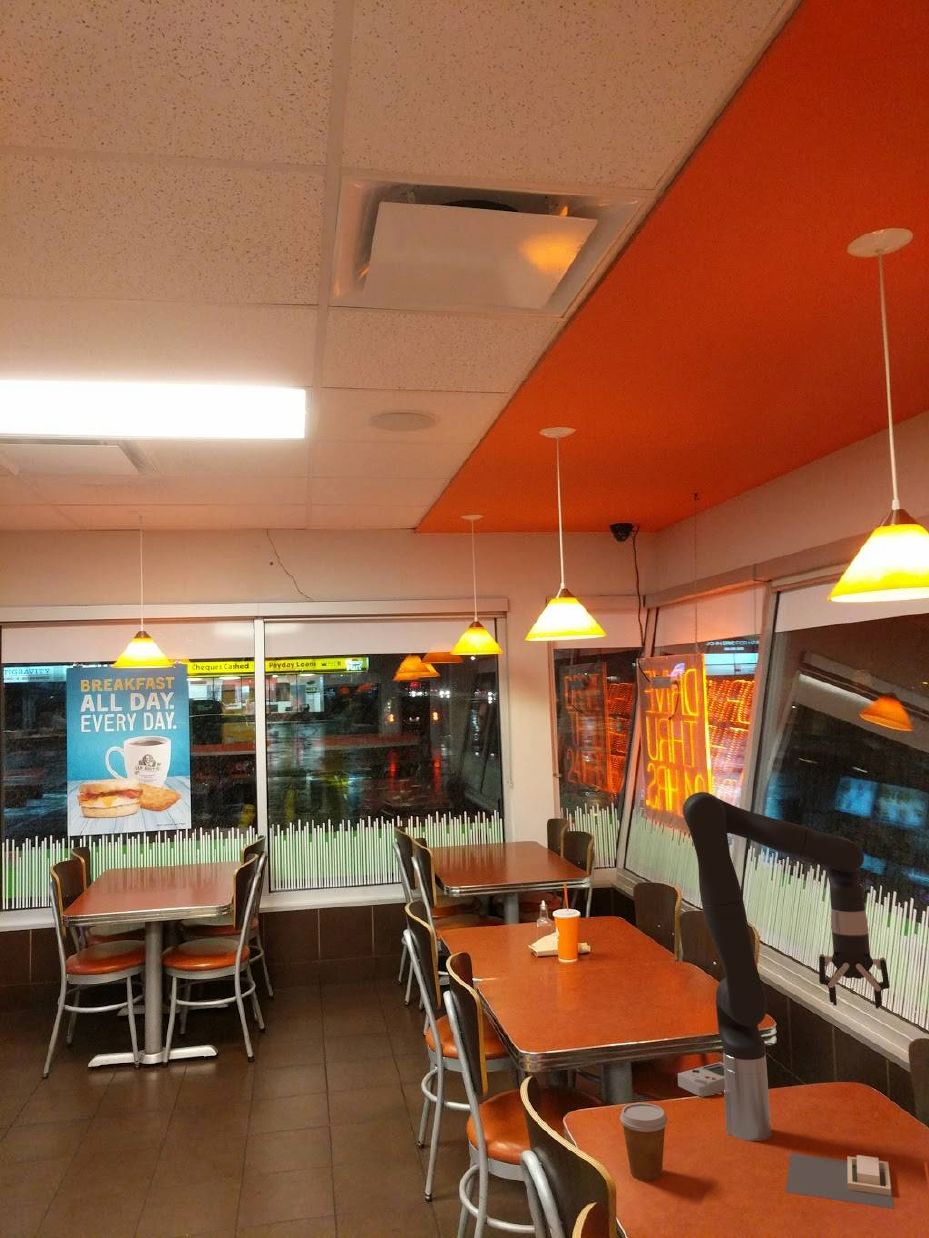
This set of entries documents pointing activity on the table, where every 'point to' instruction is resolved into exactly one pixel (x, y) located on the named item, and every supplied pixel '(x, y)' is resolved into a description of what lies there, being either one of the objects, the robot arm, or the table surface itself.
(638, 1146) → the disposable coffee cup
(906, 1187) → the table surface
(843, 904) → the robot arm
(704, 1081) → the handheld gaming device
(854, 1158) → the mat
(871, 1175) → the tile
